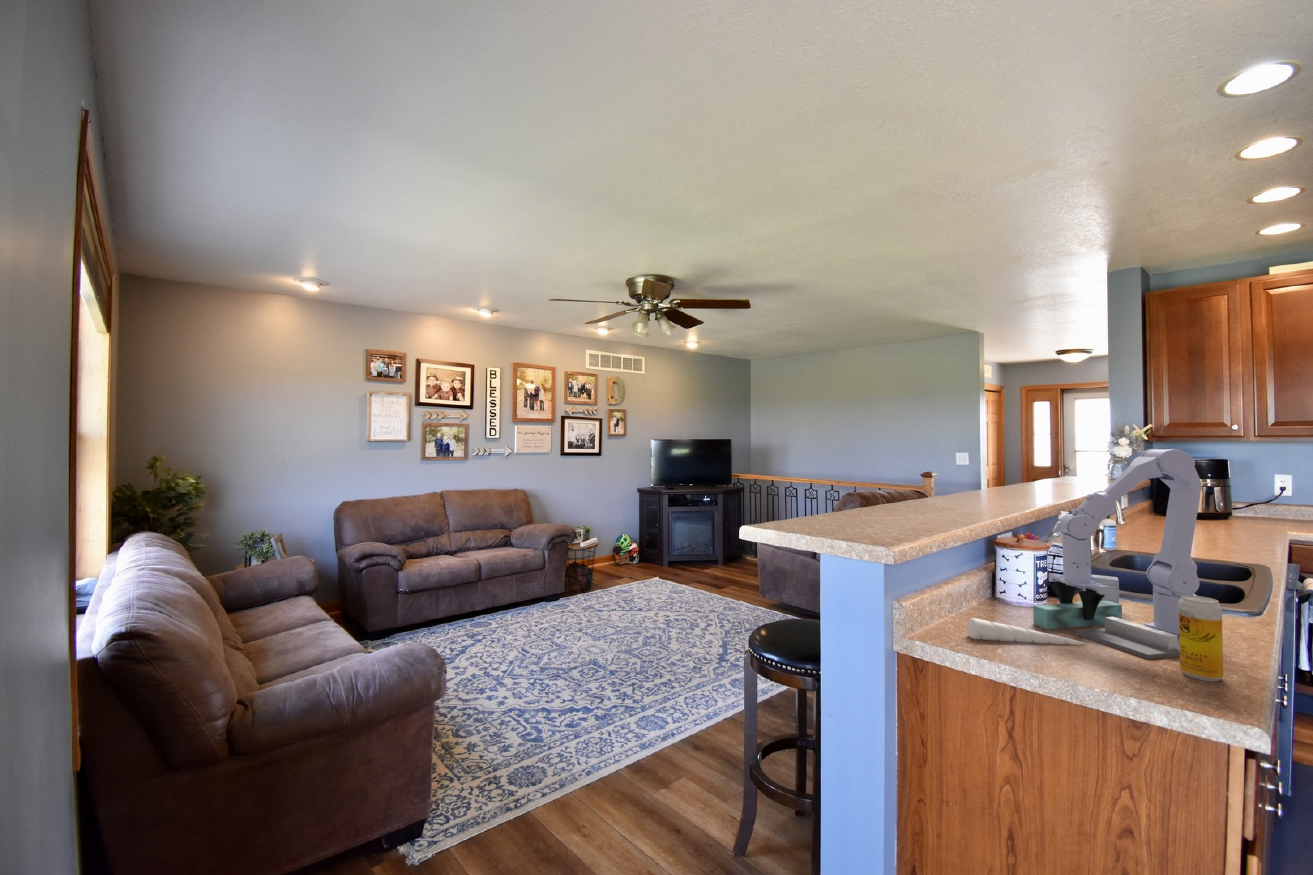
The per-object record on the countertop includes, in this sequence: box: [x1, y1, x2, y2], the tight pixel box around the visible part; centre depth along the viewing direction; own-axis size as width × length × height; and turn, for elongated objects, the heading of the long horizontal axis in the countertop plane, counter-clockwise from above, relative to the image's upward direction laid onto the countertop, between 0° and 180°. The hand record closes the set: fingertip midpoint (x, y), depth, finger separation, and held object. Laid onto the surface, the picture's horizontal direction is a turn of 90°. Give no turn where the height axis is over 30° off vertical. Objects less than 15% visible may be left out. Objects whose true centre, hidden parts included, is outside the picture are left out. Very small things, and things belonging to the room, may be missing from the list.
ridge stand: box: [1077, 617, 1180, 660], centre depth 128 cm, size 16×16×4 cm
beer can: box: [1178, 595, 1224, 682], centre depth 110 cm, size 6×6×15 cm
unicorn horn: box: [968, 617, 1086, 646], centre depth 130 cm, size 5×24×5 cm, turn 72°
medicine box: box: [1082, 574, 1120, 604], centre depth 157 cm, size 8×4×9 cm, turn 52°
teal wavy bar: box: [1032, 601, 1123, 630], centre depth 143 cm, size 22×4×5 cm, turn 100°
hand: (1077, 616), depth 143 cm, fingers open, 5 cm apart
